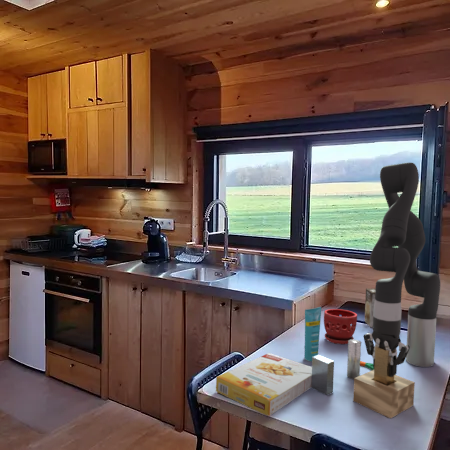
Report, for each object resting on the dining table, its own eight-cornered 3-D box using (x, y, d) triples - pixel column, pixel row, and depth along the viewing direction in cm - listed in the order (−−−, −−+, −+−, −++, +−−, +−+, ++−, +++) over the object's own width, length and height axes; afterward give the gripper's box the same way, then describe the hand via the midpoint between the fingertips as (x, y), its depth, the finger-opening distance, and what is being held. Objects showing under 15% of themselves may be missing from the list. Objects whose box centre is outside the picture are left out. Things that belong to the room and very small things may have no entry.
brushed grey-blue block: (317, 385, 136) (318, 354, 135) (332, 392, 131) (334, 360, 130) (311, 387, 134) (312, 357, 133) (326, 395, 129) (327, 363, 128)
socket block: (376, 389, 133) (377, 368, 133) (413, 405, 124) (414, 382, 123) (353, 401, 126) (354, 378, 125) (390, 418, 116) (391, 394, 116)
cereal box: (215, 376, 129) (268, 350, 151) (214, 393, 130) (267, 365, 151) (270, 399, 116) (320, 367, 138) (269, 419, 117) (319, 384, 138)
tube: (308, 363, 153) (310, 311, 151) (299, 358, 157) (300, 307, 155) (323, 359, 157) (325, 308, 155) (313, 354, 161) (315, 304, 159)
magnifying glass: (394, 371, 148) (395, 366, 148) (389, 377, 143) (389, 372, 143) (352, 360, 157) (352, 355, 157) (346, 365, 152) (346, 360, 152)
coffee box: (363, 321, 203) (365, 288, 201) (377, 321, 203) (378, 288, 201) (370, 327, 193) (371, 292, 192) (384, 327, 193) (385, 293, 192)
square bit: (381, 383, 127) (383, 344, 126) (393, 388, 124) (395, 348, 123) (373, 386, 125) (375, 346, 124) (385, 392, 122) (387, 351, 121)
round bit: (351, 373, 145) (353, 338, 144) (362, 377, 142) (363, 342, 141) (344, 376, 143) (345, 341, 142) (354, 380, 140) (356, 344, 139)
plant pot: (355, 348, 168) (356, 318, 167) (321, 344, 172) (322, 314, 171) (356, 337, 180) (357, 309, 179) (324, 333, 184) (325, 306, 183)
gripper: (417, 319, 119) (414, 379, 121) (372, 308, 131) (370, 362, 132) (403, 324, 115) (400, 386, 116) (358, 312, 126) (355, 368, 127)
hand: (384, 373), depth 124 cm, fingers closed on square bit, 4 cm apart
